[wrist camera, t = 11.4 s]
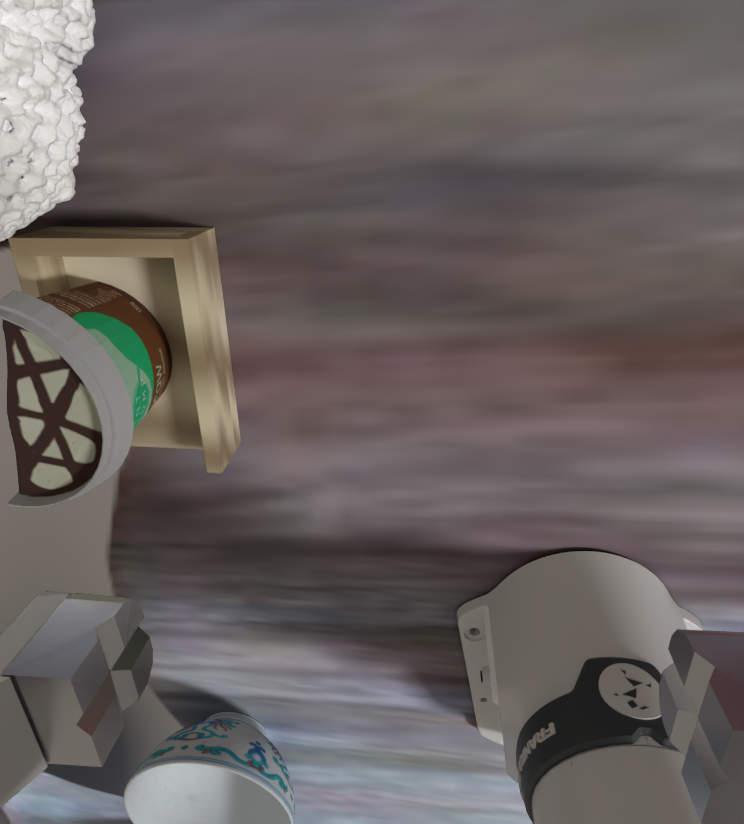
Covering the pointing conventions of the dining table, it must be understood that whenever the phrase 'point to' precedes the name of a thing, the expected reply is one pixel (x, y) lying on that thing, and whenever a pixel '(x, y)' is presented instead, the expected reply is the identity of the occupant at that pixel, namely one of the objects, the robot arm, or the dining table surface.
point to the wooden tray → (171, 306)
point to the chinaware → (213, 777)
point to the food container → (78, 386)
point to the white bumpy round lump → (40, 105)
